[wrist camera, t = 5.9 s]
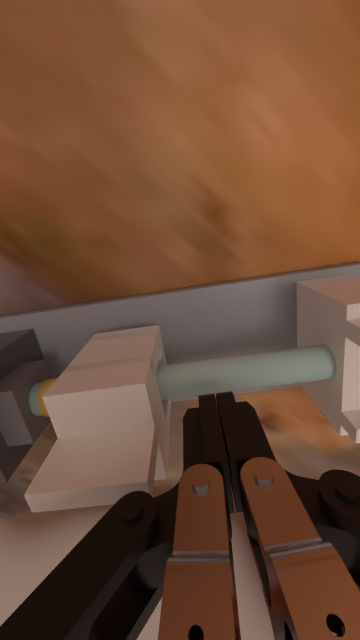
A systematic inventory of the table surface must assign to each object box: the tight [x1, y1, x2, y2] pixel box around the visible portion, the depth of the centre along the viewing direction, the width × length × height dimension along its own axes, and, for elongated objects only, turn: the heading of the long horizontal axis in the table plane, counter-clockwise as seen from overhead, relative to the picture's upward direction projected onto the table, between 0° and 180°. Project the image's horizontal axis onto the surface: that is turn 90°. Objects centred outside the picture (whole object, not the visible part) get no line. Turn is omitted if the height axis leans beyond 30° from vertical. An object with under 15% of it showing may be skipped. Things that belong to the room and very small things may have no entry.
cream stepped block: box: [24, 325, 172, 513], centre depth 13 cm, size 4×5×9 cm
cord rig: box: [0, 262, 360, 483], centre depth 15 cm, size 26×8×7 cm, turn 99°
